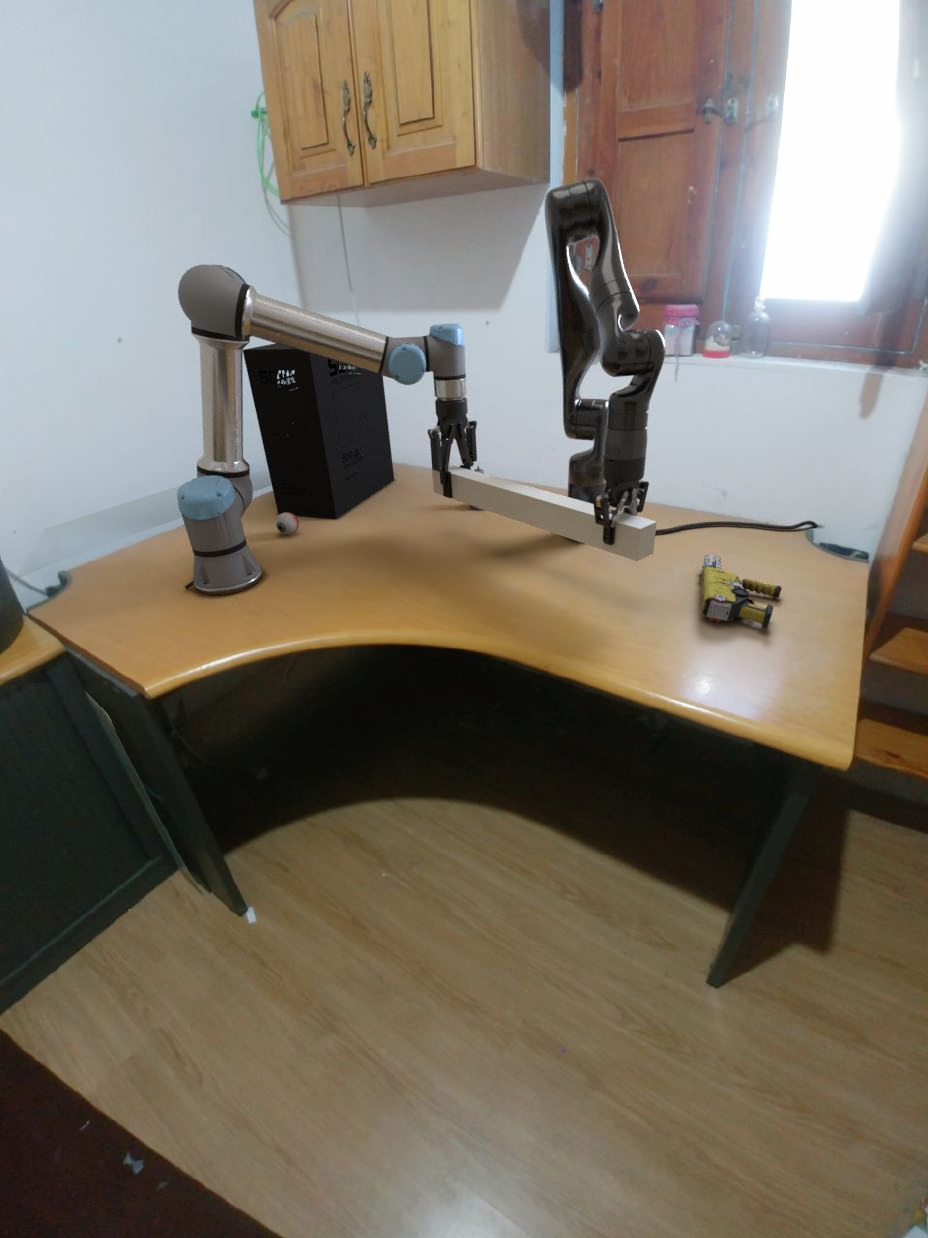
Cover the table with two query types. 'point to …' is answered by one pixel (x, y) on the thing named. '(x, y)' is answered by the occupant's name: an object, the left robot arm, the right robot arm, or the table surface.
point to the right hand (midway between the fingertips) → (617, 539)
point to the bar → (549, 512)
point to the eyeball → (287, 523)
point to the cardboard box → (319, 430)
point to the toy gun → (732, 595)
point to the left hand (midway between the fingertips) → (456, 493)
